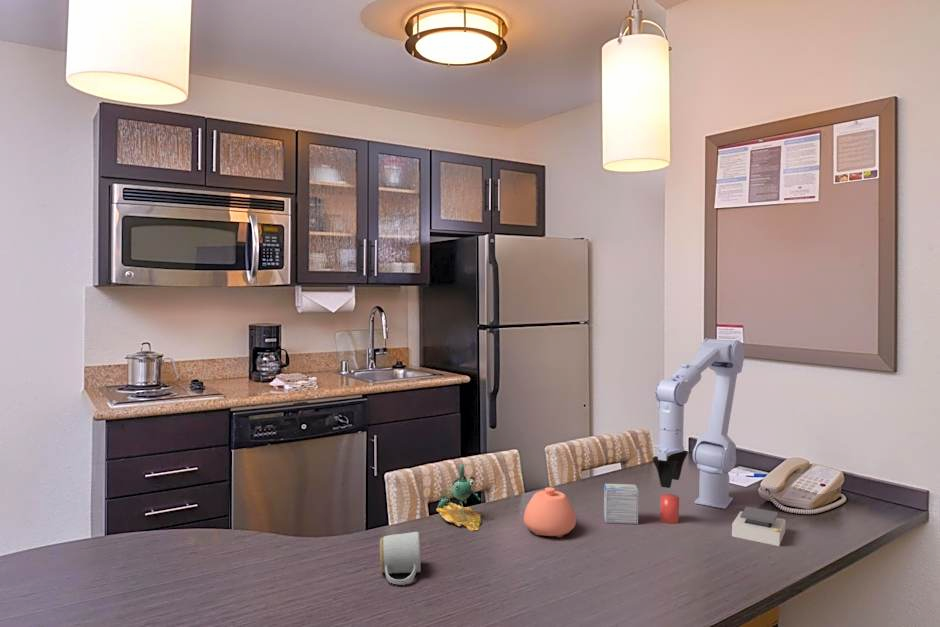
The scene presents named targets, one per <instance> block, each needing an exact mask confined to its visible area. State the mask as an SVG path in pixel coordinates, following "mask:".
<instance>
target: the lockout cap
mask: <svg viewBox="0 0 940 627" xmlns="http://www.w3.org/2000/svg"><path fill="white" fill-rule="evenodd" d="M659 505H660V507H659V509H660V510H659V513H660V514H659V518H660V519H659V520H660V522H662V523H664V524H669V525H675V524H678V523H679V520H680V517H679V516H680V497H679V496H678V495H676V494H672V493H662V494H660V504H659Z"/></svg>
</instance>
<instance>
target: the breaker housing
mask: <svg viewBox="0 0 940 627" xmlns="http://www.w3.org/2000/svg"><path fill="white" fill-rule="evenodd" d="M742 512H743V511H741V510H740V511H739V513H738V514H737V516H736V517H735V518H734V520H733V522H732V523H731V527H732V528H731V537H734V538H738V539H744V540H748V541H752V542H758V543H761V544H767V545H771V546H777V547H780V545H781V543H782V541H783V538H784V535H785V534H786V521H787V520H786V519H784V518H779V517H777V518H776V520H775V522H774V524H772V523H771V528H768V527H763V526H758V525H753V524H748V523H747V519H745V518H740V516H741V514H742Z"/></svg>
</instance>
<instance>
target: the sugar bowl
mask: <svg viewBox="0 0 940 627" xmlns="http://www.w3.org/2000/svg"><path fill="white" fill-rule="evenodd" d="M576 517H577V516H576V514H575V511H574V507H573V505H572V504H571V501H570V500H569V498H568V497H567V495H566V494H565V493H563V492H562V491H558V490H556V489H555V488H554V487H552V486H550V487H544V490H539V491H536V492H535V493H534V494H532V497H531V498H530V500H529V501H528V504H527V505H526V507H525V510H524V514H523V522H524V525H525V526H526V527H527V529H529V531H530V532H532V533H533V534H534V535H535V534H536V536H545V537H546V536H547V537H555V536H556V538H562V537H563V536H564V535H567V534H569V533H570V532H571V531H572V530H573V529H574V528H575V526H576V523H577V521H576V520H577V519H576Z"/></svg>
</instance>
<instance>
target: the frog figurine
mask: <svg viewBox="0 0 940 627" xmlns="http://www.w3.org/2000/svg"><path fill="white" fill-rule="evenodd" d="M469 479H470V480H468V478H467V477H466V476H465V467H464V465H463V464H461V463H460V465H459V476H457V477H456V479H455V480H453V482H452V488H451V489H448V488H447V489H446V492H445V493H443V497H441V499H440V500H439V502H438V504H437V507H436V510H435V512H438V513H439V514H440V516H441V517H442V519H444V520H445V521H446V522H447V523H452V524H454V525H456V526H458V527H461V526H464V527H465V528H467V529H468V531H471V532H473V531H478V530H480V524H481V522H482V519H481V516H482V514H479V513H477V512H475V511H474V510H473V509H472V508H471V507H468V506H467V507H466V506H465V507H464V506H463V502H464V504H467V499H468V498H469V497H470V496H471V494H473V495H474V496H475V497H476V498H477V499H478V501H481V498H480V497H478V496H479V495H478V493H476V492H474V490H473V489H472V487H474V485H475V480H476V479H475V477H474V476H470V477H469ZM448 491H450V493H449V494H448ZM447 494H448V497H447ZM451 494H453V497H454V498H456V499H458V501H459V503H460V504H456V503H453V502H451V500H450V499H451V498H450V495H451ZM448 501H449V502H448Z"/></svg>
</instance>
